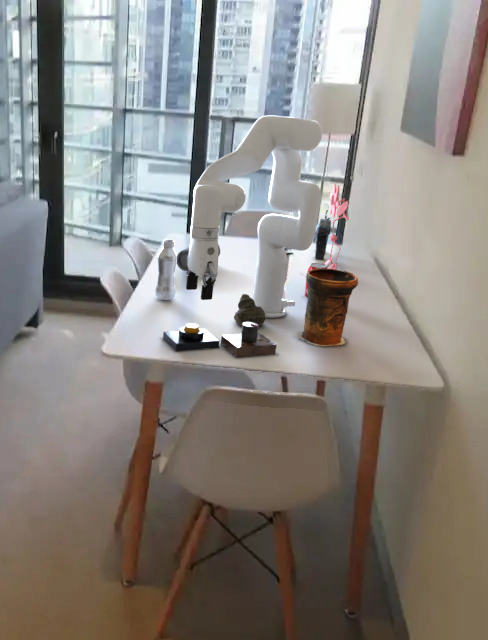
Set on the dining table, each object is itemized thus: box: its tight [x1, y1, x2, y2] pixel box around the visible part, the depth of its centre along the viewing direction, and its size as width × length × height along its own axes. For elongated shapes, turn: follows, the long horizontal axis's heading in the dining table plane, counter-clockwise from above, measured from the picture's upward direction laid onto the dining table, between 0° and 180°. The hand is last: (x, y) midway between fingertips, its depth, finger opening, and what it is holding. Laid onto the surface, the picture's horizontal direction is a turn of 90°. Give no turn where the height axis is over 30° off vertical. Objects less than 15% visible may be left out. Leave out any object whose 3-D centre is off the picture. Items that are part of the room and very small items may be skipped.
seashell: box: [233, 293, 266, 328], centre depth 220 cm, size 11×12×10 cm
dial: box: [240, 322, 260, 342], centre depth 200 cm, size 4×4×5 cm
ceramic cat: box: [313, 209, 332, 261], centre depth 308 cm, size 20×6×20 cm, turn 164°
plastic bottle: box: [155, 239, 178, 301], centre depth 239 cm, size 6×7×20 cm
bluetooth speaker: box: [176, 244, 221, 272], centre depth 280 cm, size 23×9×10 cm, turn 148°
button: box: [184, 322, 200, 333], centre depth 203 cm, size 4×4×2 cm
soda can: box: [303, 262, 329, 300], centre depth 249 cm, size 7×7×12 cm
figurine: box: [300, 183, 350, 276], centre depth 275 cm, size 15×26×35 cm, turn 174°
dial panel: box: [220, 332, 277, 359], centre depth 201 cm, size 12×10×3 cm
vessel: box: [296, 267, 359, 347], centre depth 208 cm, size 14×14×20 cm
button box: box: [162, 325, 220, 352], centre depth 204 cm, size 13×10×4 cm
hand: (198, 294), depth 198 cm, fingers open, 9 cm apart
